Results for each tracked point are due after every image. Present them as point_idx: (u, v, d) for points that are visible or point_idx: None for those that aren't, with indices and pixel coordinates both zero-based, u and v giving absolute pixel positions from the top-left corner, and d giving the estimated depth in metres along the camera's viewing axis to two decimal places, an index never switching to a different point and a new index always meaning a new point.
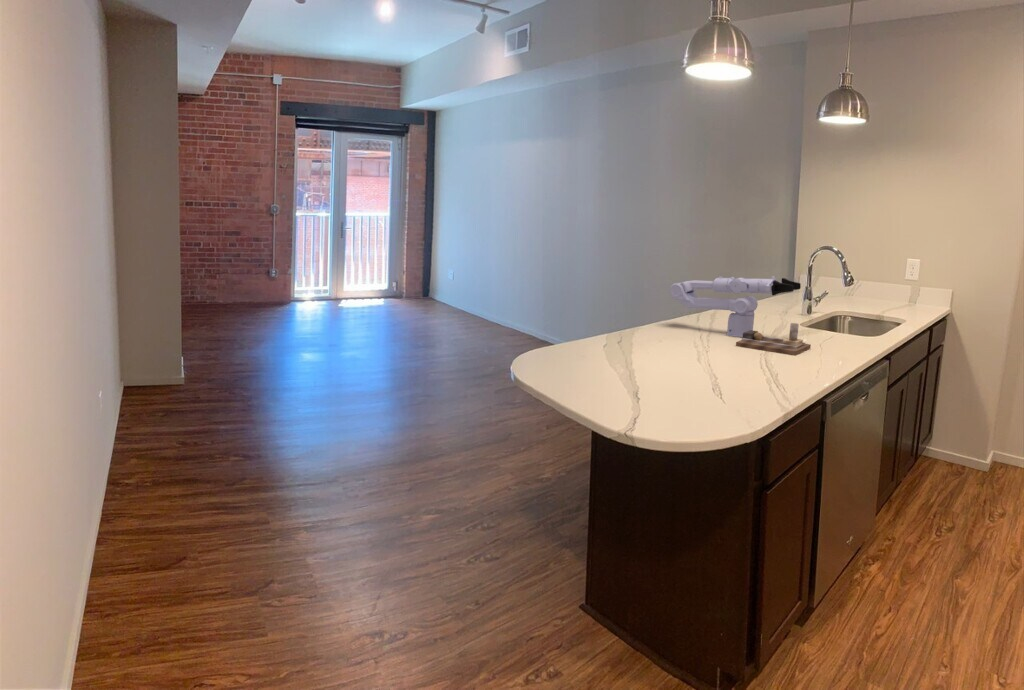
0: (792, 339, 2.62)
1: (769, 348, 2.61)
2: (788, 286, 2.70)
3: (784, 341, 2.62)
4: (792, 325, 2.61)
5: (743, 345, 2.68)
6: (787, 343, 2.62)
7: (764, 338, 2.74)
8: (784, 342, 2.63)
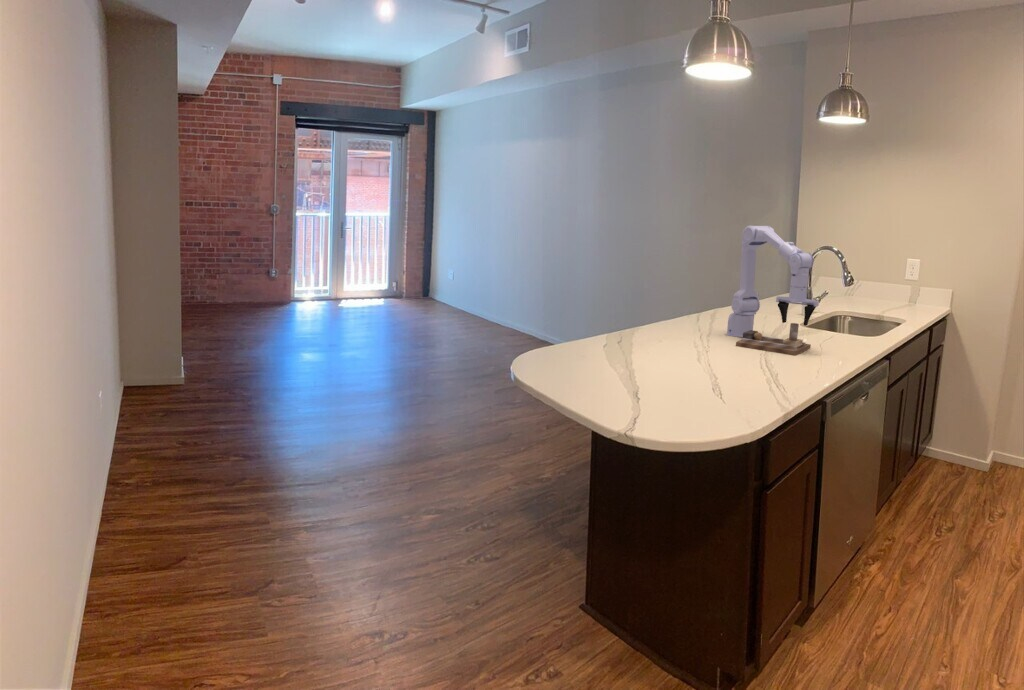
0: (792, 339, 2.62)
1: (769, 348, 2.61)
2: None
3: (784, 341, 2.62)
4: (792, 325, 2.61)
5: (743, 345, 2.68)
6: (787, 343, 2.62)
7: (764, 338, 2.74)
8: (784, 342, 2.63)
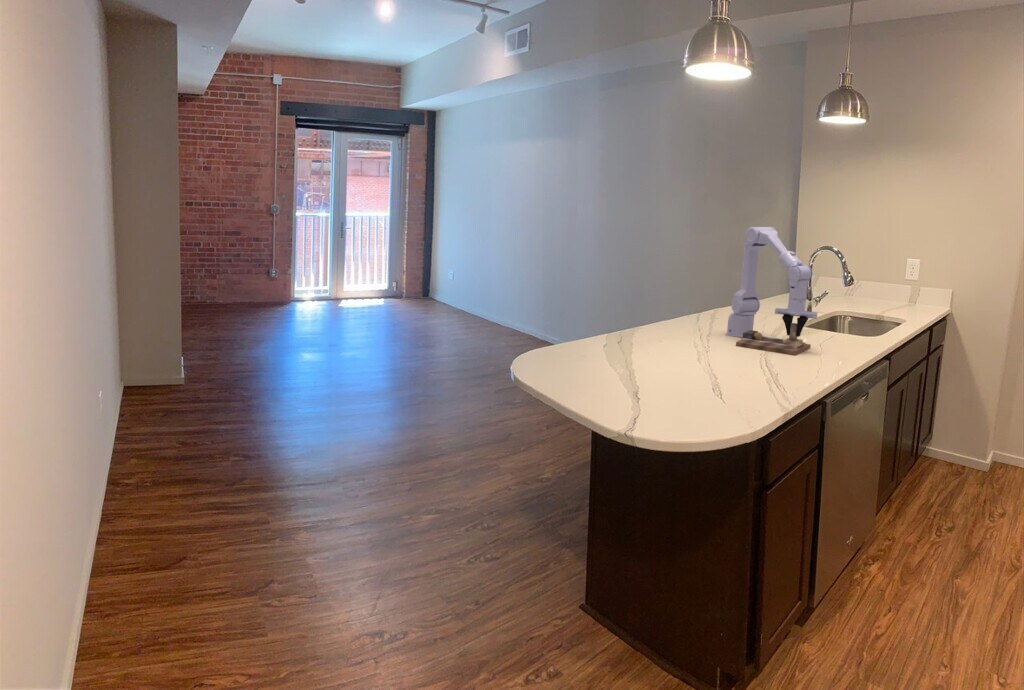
0: (792, 339, 2.62)
1: (769, 348, 2.61)
2: None
3: (784, 341, 2.62)
4: (792, 325, 2.61)
5: (743, 345, 2.68)
6: (787, 343, 2.62)
7: (764, 338, 2.74)
8: (784, 342, 2.63)
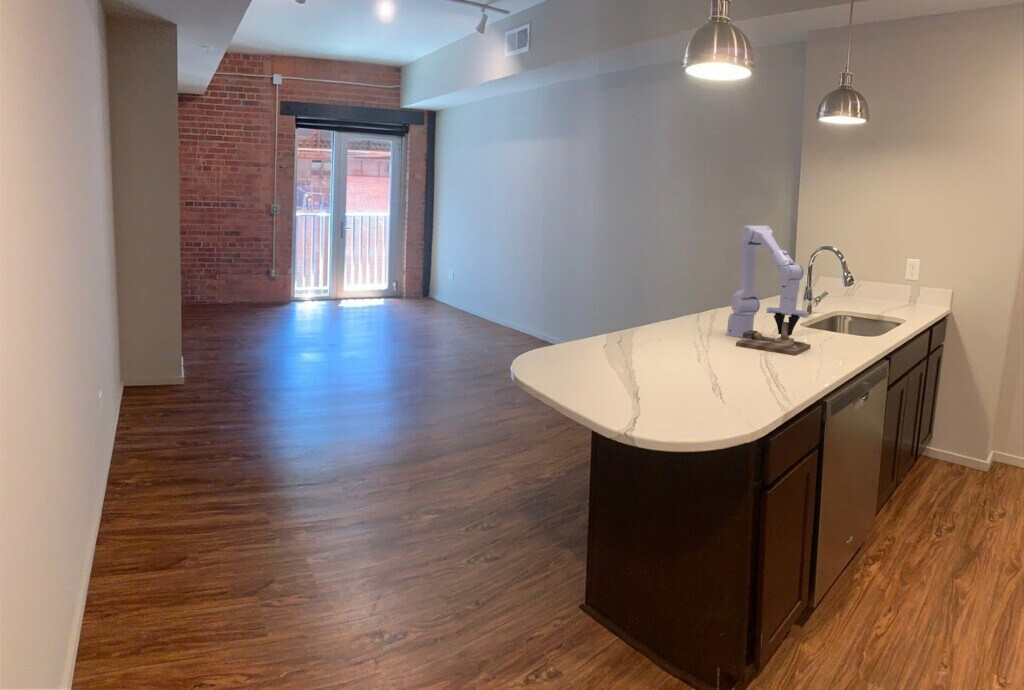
0: (784, 338, 2.64)
1: (769, 348, 2.61)
2: None
3: (776, 340, 2.64)
4: (784, 324, 2.63)
5: (743, 345, 2.68)
6: (779, 342, 2.64)
7: (764, 338, 2.74)
8: (776, 341, 2.64)
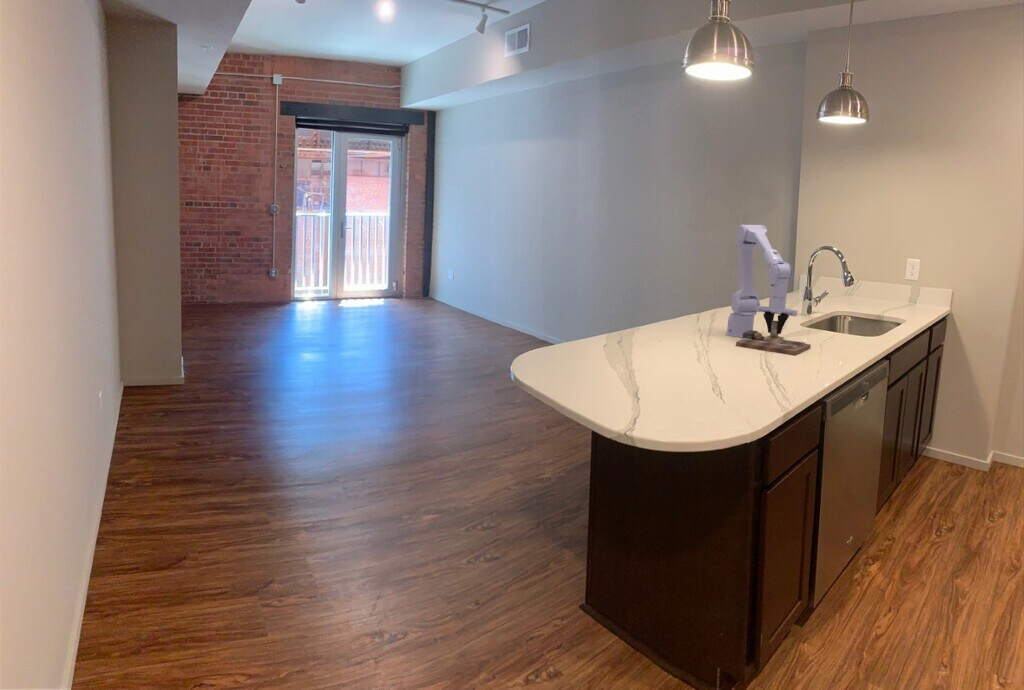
0: (773, 336, 2.67)
1: (769, 348, 2.61)
2: None
3: (765, 338, 2.67)
4: (773, 322, 2.66)
5: (743, 345, 2.68)
6: (768, 340, 2.66)
7: None
8: (765, 339, 2.67)
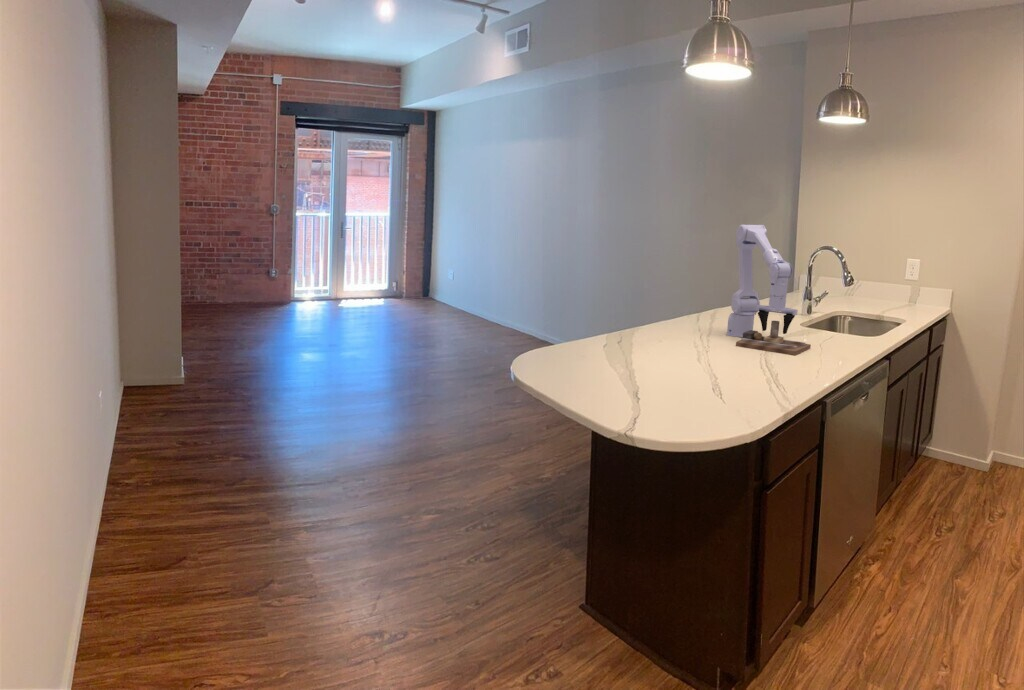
0: (773, 336, 2.67)
1: (769, 348, 2.61)
2: None
3: (765, 338, 2.67)
4: (773, 322, 2.66)
5: (743, 345, 2.68)
6: (768, 340, 2.66)
7: None
8: (765, 339, 2.67)
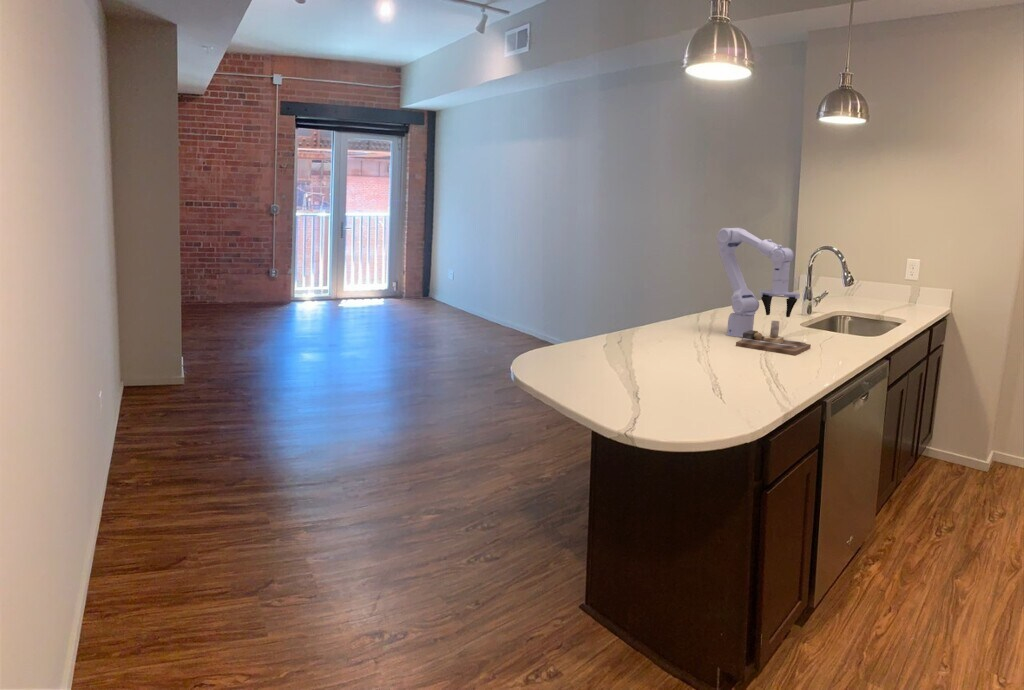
0: (773, 336, 2.67)
1: (769, 348, 2.61)
2: None
3: (765, 338, 2.67)
4: (773, 322, 2.66)
5: (743, 345, 2.68)
6: (768, 340, 2.66)
7: None
8: (765, 339, 2.67)
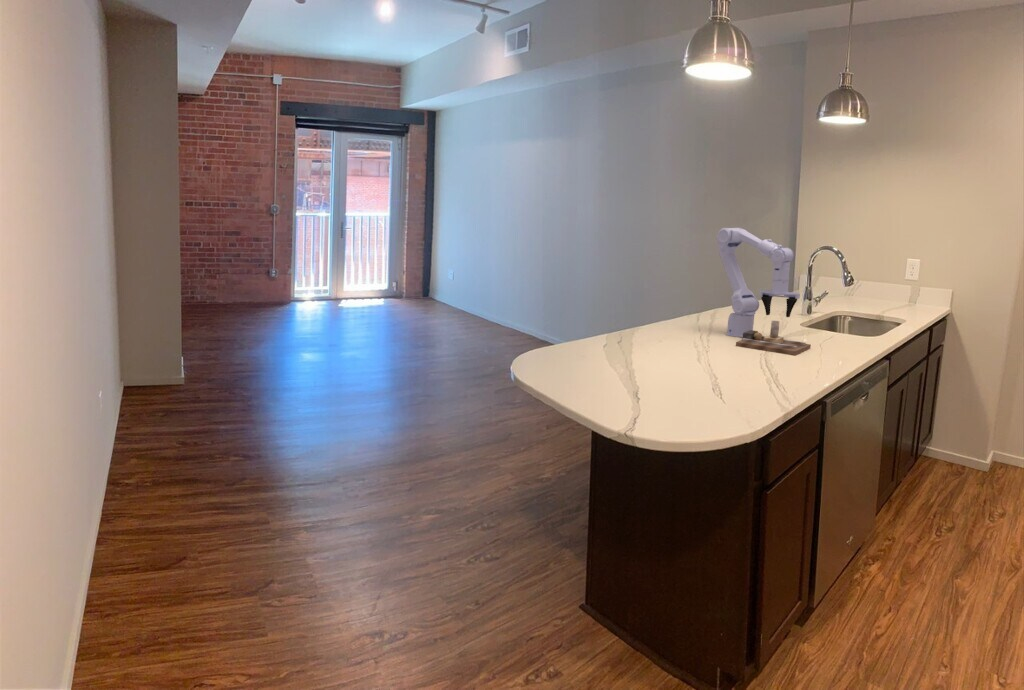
0: (773, 336, 2.67)
1: (769, 348, 2.61)
2: None
3: (765, 338, 2.67)
4: (773, 322, 2.66)
5: (743, 345, 2.68)
6: (768, 340, 2.66)
7: None
8: (765, 339, 2.67)
